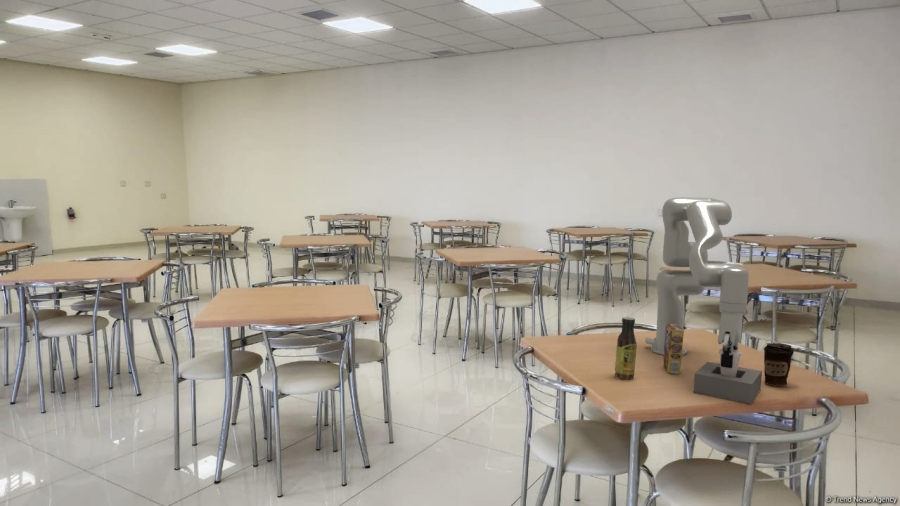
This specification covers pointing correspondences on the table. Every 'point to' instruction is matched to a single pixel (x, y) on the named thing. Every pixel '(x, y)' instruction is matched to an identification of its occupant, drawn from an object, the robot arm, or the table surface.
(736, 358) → the smoothie
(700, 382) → the well block
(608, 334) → the table surface
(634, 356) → the sauce bottle
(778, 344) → the coffee cup
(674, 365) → the candy box
